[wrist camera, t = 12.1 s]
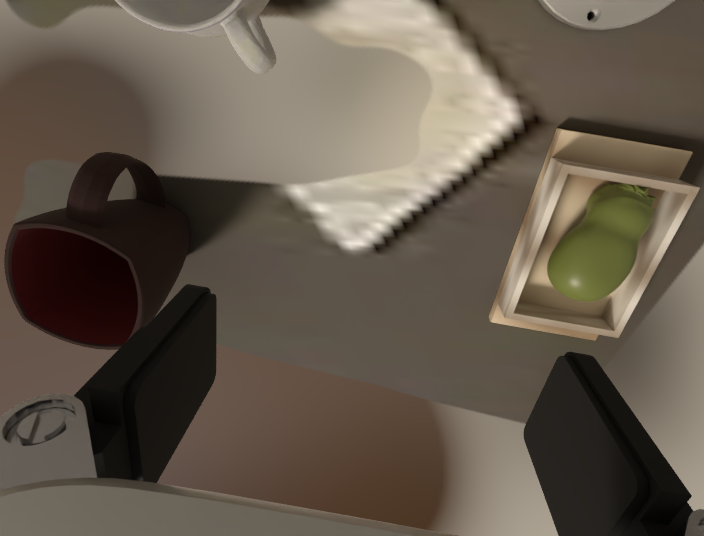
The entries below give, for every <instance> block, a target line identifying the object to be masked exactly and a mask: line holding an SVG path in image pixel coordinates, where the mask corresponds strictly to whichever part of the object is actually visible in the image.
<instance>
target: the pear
mask: <svg viewBox="0 0 704 536" xmlns="http://www.w3.org/2000/svg"><path fill="white" fill-rule="evenodd" d="M648 191H649V187H648V188H646V187H638V186H636V185H631V184H626V183H617V184H614V185H610V184H607V185H605V186H603V187H602V188H600V189H599V190H598V191H596V192H594V193H593V194H591V195H590V197H589V198H588V201H587V213H586V215H585V217H584V218H583V220H582V221H581V222H580V224H579V225H578V226H576V227H575V228H574V229H572V230H571V231H570V232H568V233H567V234H566V235H565V236H564V237H563V238H562V239H561V241H560V242H559V243H558V244H557V246H556V247H555V249H554V250H553V252H552V253H551V255H550V258H549V260H548V264H547V274H548V278H549V280H550V282H551V284H552V285H553V287H554V288H555V289H556V290H557V291H559V292H560V293H561V294H563V295H564V296H566V297H568V298H570V299H573V300H577V301H582V302H592V301H597V300H600V299H603V298H605V297H606V296H608V295H610V294H611V293H612V292H614V291H615V290H616V289H617V288H618V287H619V286H620V285H621V284H622V283H623V281H624V280H625V279H626V278H627V276H628V275H629V273H630V272H631V270H632V268H633V266H634V264H635V261H636V257H637V252H638V245H639V242H640V239H641V238H642V236H643V235H644V233H645V232H646V231H647V229H648V228H649V226H650V224H651V221H652V218H653V214H654V210H653V209H652V208H651V207H652V204H653V203H654V202H655V200H656V197H655V196H652V195H648Z"/></svg>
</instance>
